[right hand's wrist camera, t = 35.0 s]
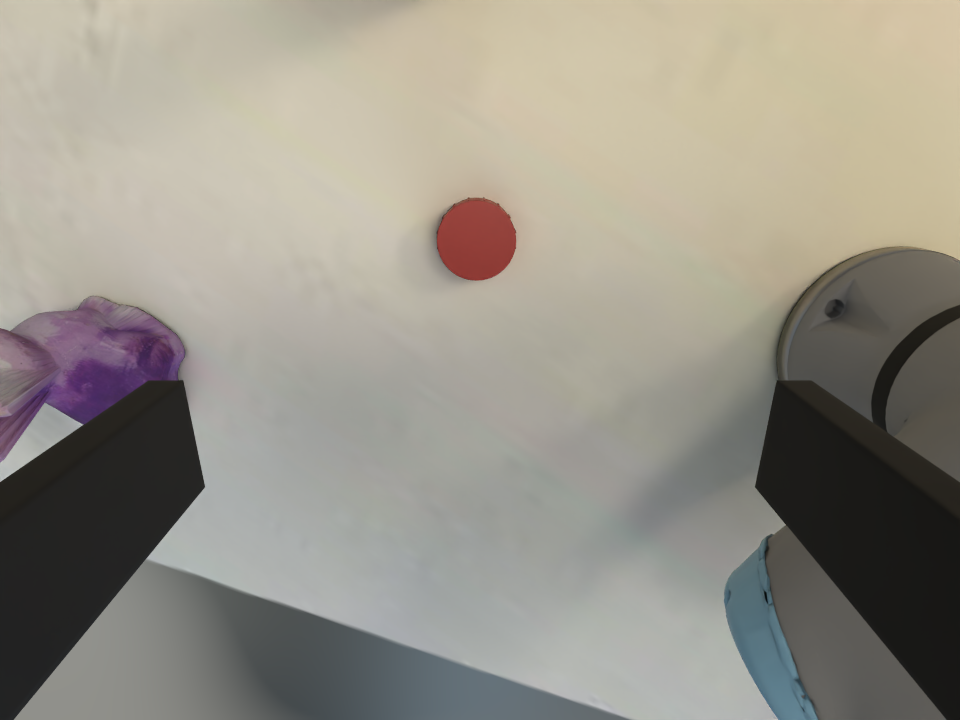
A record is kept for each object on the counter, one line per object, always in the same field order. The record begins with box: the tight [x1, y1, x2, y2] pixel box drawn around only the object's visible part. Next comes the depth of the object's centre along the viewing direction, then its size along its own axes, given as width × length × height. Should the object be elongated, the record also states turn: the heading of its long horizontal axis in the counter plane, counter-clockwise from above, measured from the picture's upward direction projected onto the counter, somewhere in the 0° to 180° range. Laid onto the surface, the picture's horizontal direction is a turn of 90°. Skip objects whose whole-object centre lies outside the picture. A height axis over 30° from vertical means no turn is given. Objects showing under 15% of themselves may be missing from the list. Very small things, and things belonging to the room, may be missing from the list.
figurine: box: [0, 296, 185, 462], centre depth 37 cm, size 9×10×15 cm
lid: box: [437, 197, 516, 280], centre depth 40 cm, size 6×6×2 cm
